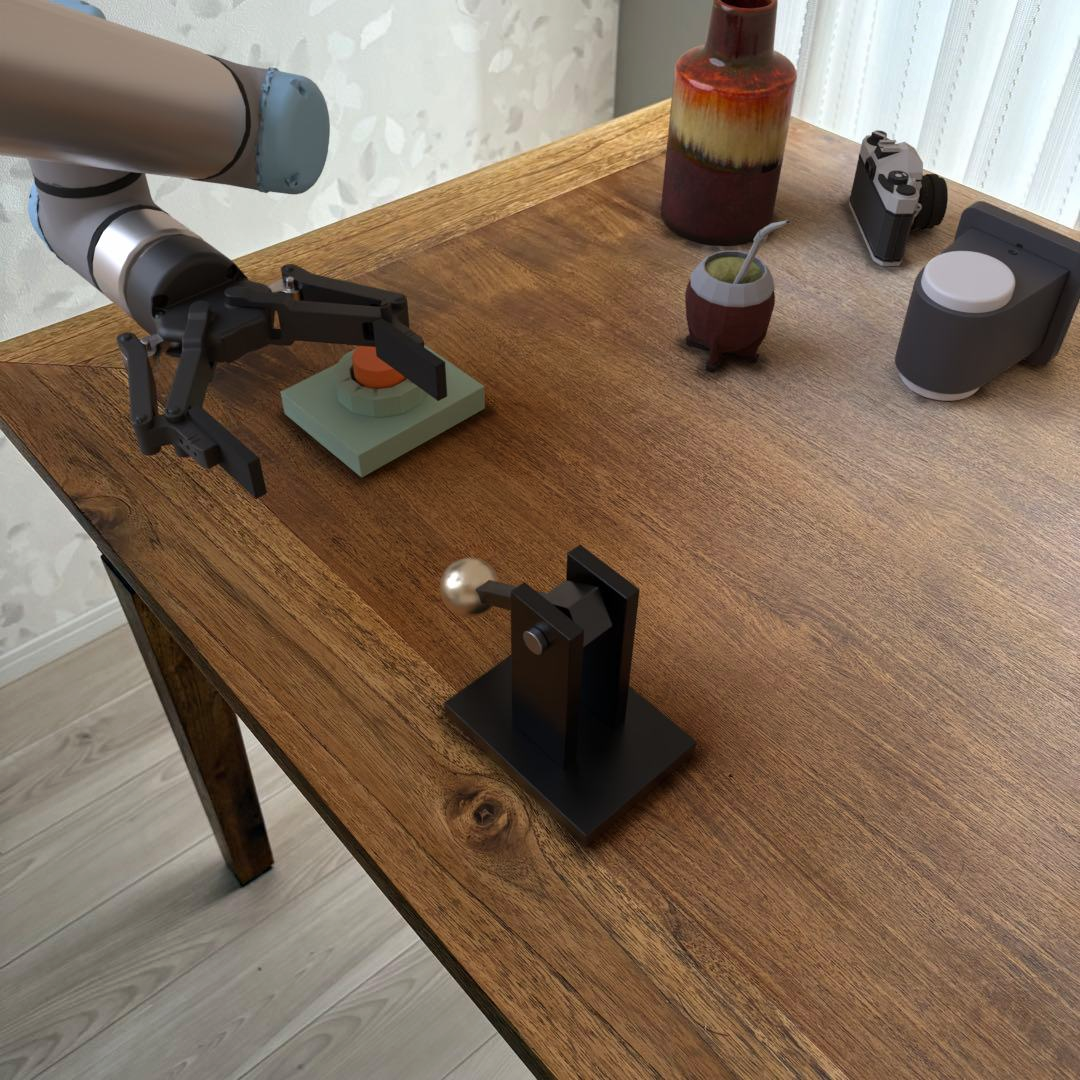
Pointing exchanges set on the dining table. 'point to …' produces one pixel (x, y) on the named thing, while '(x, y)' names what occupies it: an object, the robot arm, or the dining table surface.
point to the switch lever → (478, 590)
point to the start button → (373, 370)
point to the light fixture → (988, 304)
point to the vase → (728, 127)
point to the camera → (893, 197)
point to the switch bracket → (572, 709)
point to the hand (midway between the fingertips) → (354, 428)
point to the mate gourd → (731, 303)
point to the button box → (377, 413)
